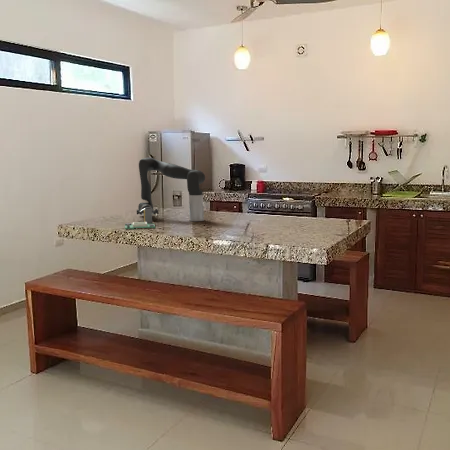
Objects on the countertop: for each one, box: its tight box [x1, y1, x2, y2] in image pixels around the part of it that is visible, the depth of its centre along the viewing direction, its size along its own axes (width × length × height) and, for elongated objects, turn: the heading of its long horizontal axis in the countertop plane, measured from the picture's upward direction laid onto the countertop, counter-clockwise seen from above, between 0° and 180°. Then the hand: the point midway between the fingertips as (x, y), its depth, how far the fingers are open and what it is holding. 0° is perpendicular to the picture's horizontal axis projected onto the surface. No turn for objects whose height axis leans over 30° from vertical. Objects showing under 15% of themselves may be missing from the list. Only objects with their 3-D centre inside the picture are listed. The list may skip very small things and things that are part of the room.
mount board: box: [124, 221, 156, 230], centre depth 314 cm, size 18×14×3 cm
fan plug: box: [143, 207, 153, 223], centre depth 326 cm, size 5×4×11 cm
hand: (147, 213), depth 335 cm, fingers open, 8 cm apart
